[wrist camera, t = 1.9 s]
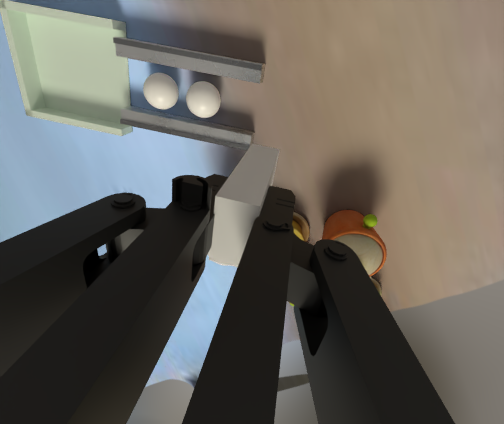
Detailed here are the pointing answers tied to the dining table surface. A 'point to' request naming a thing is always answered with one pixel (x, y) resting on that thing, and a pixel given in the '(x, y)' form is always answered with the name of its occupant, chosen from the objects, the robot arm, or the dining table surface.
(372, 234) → the toy tea set
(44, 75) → the tray
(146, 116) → the slot rails
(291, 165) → the dining table surface
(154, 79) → the chip ball
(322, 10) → the dining table surface
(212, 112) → the chip ball
